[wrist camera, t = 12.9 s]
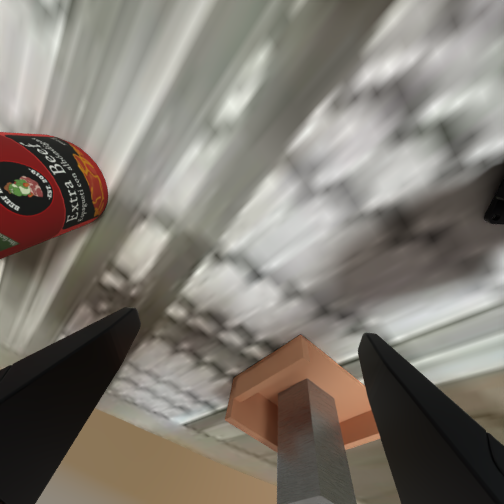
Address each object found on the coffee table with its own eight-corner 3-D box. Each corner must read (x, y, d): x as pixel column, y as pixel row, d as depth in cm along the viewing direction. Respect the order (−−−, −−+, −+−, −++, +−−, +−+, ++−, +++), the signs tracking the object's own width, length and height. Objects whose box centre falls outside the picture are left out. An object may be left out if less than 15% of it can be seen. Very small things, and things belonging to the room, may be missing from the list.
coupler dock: (300, 334, 24) (305, 376, 20) (387, 404, 28) (408, 454, 23) (233, 378, 29) (224, 420, 25) (314, 433, 32) (320, 479, 28)
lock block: (307, 378, 27) (320, 495, 18) (334, 398, 28) (359, 518, 19) (278, 393, 28) (277, 506, 20) (304, 411, 30) (314, 526, 21)
